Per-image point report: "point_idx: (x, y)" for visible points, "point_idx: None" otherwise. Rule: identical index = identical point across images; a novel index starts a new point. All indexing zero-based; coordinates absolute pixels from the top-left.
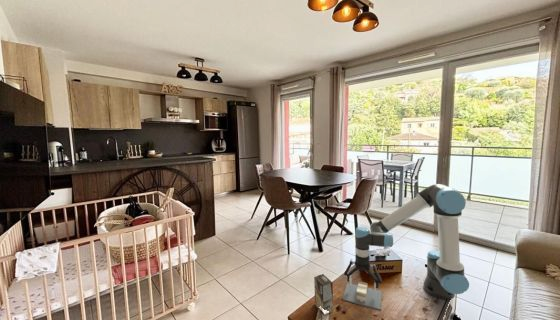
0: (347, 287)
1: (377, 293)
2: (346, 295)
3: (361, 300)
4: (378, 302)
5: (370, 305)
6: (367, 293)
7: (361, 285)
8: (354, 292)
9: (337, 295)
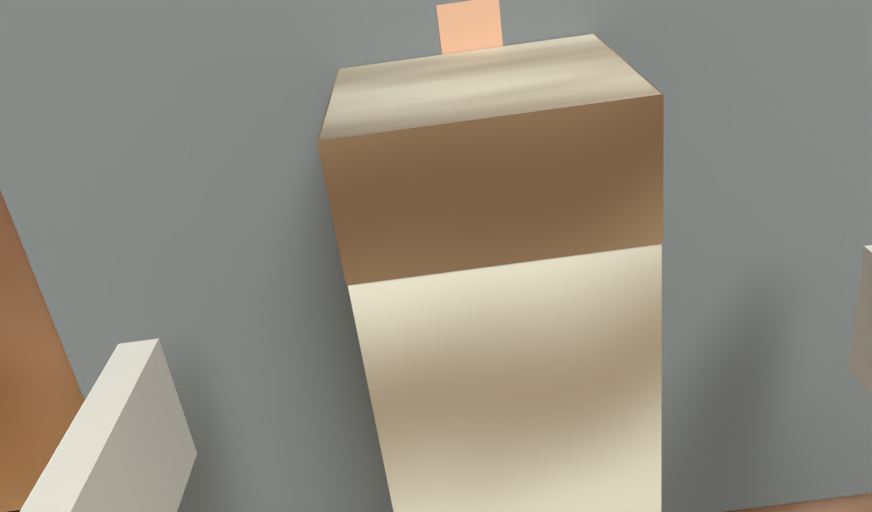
0: (48, 190)
1: (866, 15)
2: None
3: None
4: None
5: (703, 488)
6: None
7: (474, 324)
8: (294, 289)
9: (13, 504)
